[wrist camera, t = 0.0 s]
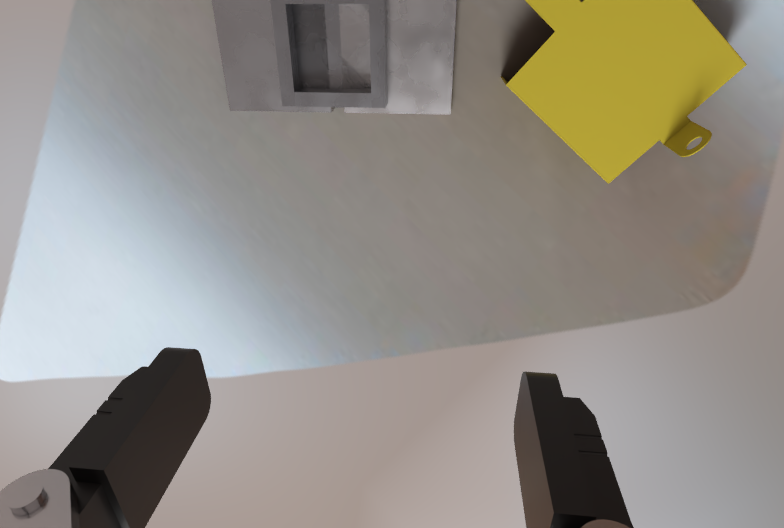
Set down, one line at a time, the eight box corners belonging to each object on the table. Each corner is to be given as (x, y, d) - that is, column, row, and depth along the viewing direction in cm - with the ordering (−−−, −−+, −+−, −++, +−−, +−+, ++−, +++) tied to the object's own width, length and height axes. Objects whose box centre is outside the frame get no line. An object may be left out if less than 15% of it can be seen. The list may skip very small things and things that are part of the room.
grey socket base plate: (213, -25, 34) (197, -26, 32) (457, -27, 33) (458, -28, 30) (234, 107, 39) (222, 114, 36) (450, 111, 37) (450, 119, 35)
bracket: (657, -187, 23) (833, 41, 26) (608, -146, 29) (754, 31, 33) (432, 81, 29) (597, 233, 33) (435, 64, 36) (572, 192, 40)
